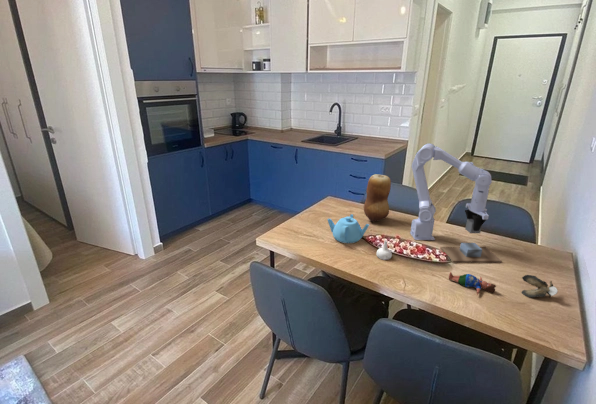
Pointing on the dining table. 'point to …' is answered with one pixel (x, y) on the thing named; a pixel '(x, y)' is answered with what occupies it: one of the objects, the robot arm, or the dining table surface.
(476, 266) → the dining table surface
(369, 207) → the butternut squash
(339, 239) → the teapot
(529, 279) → the eagle figurine
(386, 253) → the garlic bulb
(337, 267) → the dining table surface
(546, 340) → the dining table surface
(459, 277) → the toy character
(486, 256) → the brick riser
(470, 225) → the gray brick
